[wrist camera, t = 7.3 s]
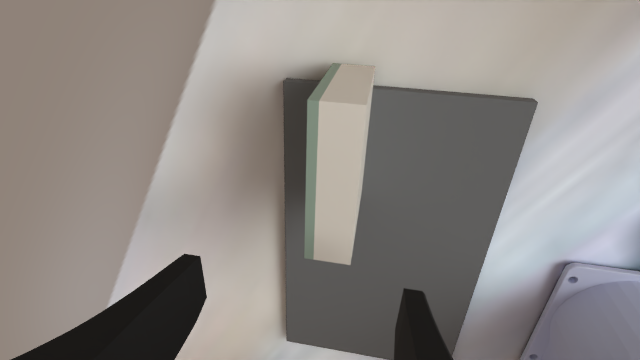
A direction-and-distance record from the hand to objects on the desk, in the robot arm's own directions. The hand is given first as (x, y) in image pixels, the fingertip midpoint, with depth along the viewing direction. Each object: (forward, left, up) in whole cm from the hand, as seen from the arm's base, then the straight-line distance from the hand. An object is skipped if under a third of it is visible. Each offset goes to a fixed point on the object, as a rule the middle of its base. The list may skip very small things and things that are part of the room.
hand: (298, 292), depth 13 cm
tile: (+2, -1, -9) cm, 9 cm away
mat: (-5, -3, -10) cm, 11 cm away
